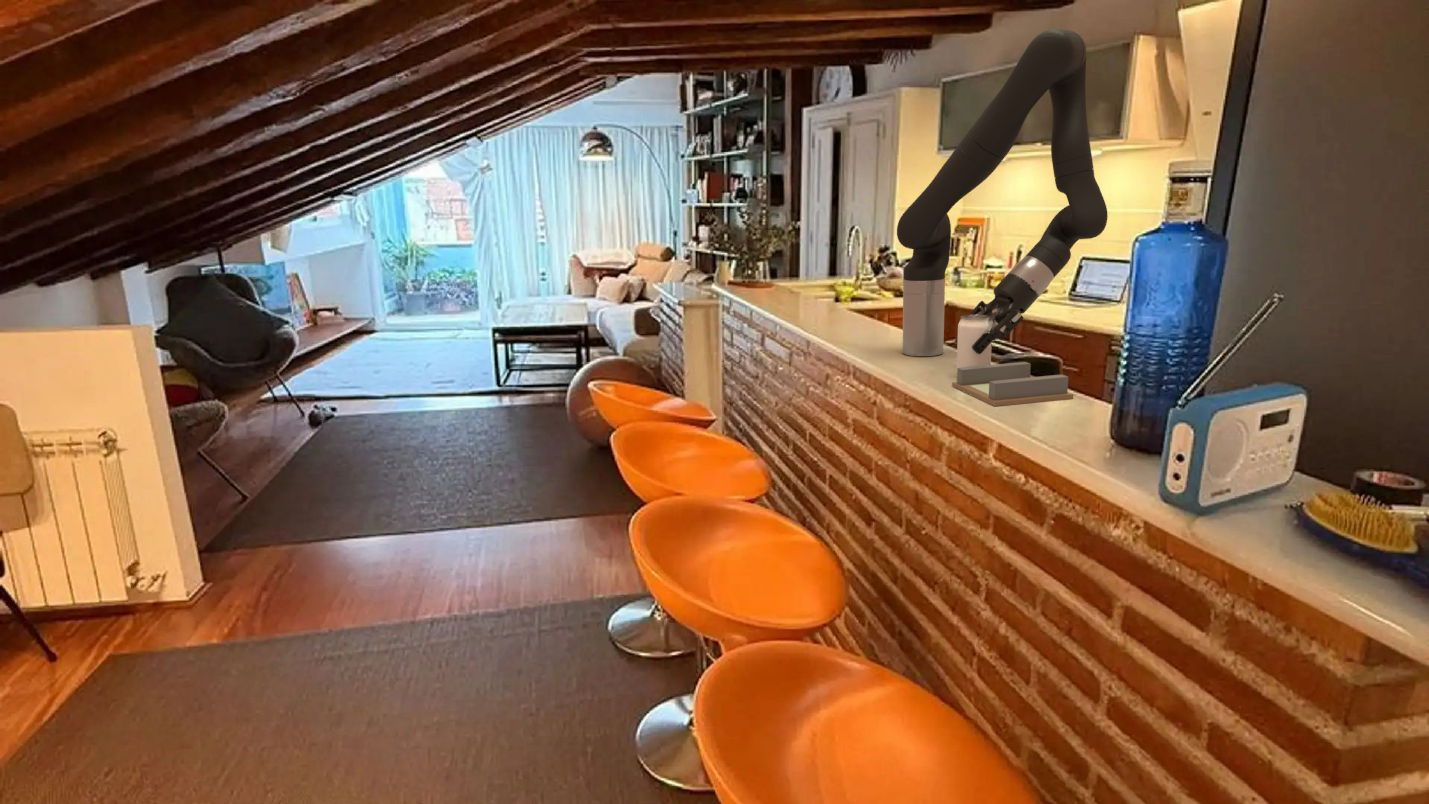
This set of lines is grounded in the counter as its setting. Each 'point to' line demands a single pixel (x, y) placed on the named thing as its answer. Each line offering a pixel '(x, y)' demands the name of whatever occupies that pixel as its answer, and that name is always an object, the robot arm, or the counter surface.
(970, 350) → the can
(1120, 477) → the counter surface
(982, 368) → the twin rail tray
